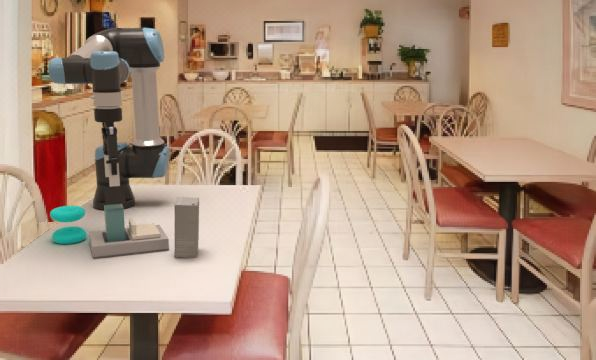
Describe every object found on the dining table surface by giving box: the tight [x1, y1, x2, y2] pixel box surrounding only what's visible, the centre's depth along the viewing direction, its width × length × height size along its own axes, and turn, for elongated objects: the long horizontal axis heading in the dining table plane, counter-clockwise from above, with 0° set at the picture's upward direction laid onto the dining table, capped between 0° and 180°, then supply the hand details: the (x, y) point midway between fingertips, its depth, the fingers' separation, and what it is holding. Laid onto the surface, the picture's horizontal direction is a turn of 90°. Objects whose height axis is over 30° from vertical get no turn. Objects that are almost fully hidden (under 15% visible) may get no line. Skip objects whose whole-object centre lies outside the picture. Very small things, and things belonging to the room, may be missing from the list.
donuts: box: [49, 205, 88, 245], centre depth 189 cm, size 10×10×10 cm
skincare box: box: [173, 196, 200, 259], centre depth 176 cm, size 8×7×16 cm
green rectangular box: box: [103, 204, 126, 243], centre depth 181 cm, size 5×5×12 cm
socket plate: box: [88, 224, 170, 260], centre depth 183 cm, size 16×21×4 cm
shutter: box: [126, 217, 160, 240], centre depth 184 cm, size 12×8×4 cm, turn 22°
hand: (112, 181), depth 178 cm, fingers open, 13 cm apart
